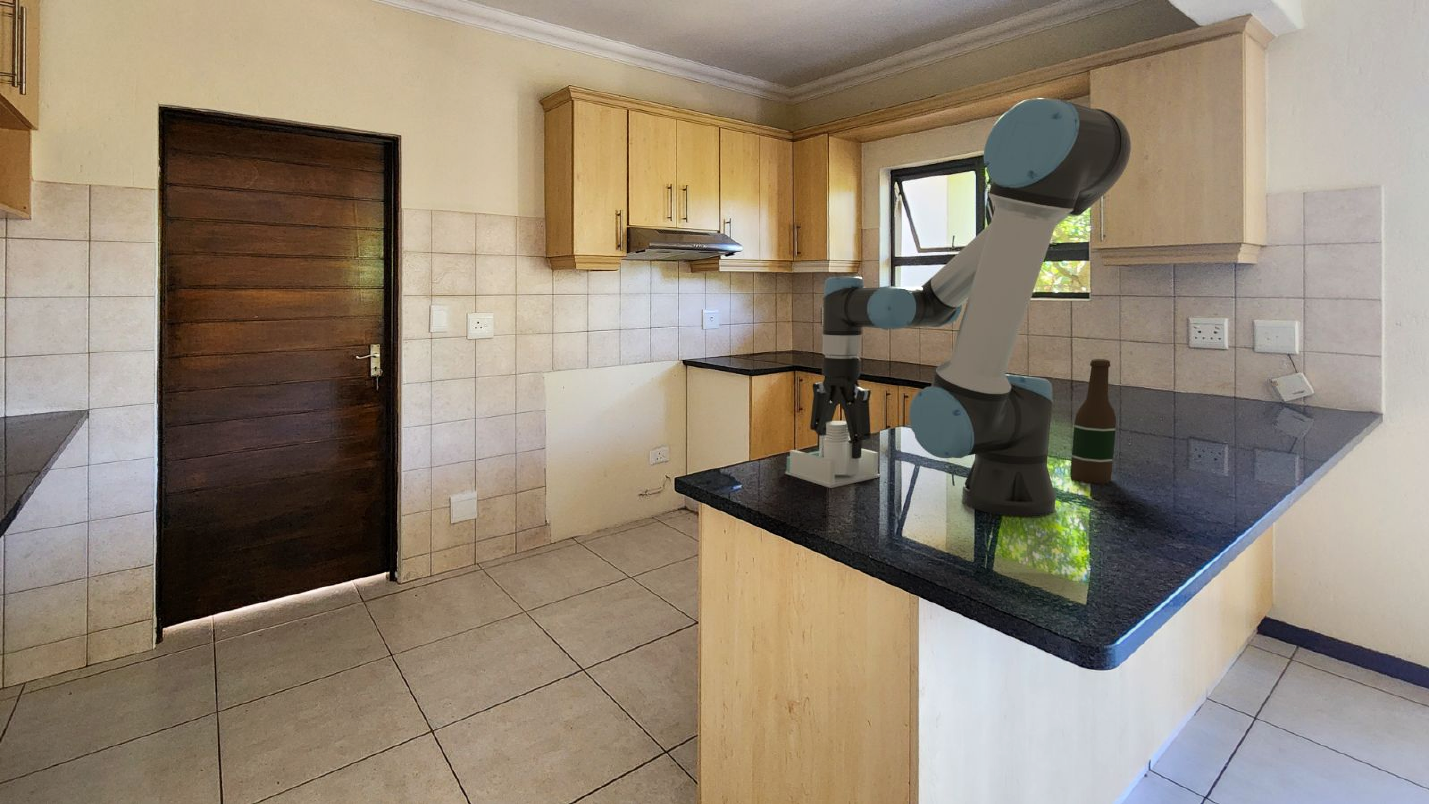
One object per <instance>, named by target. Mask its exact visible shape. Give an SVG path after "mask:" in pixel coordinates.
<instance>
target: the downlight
mask: <svg viewBox="0 0 1429 804" xmlns="http://www.w3.org/2000/svg"><path fill="white" fill-rule="evenodd" d="M826 436H827V437H826V438H825V439H823V445H822V447H823V449H824V458H826V459H830V460H834V461H835V474H836V475H841V474H846V460H847V442H848V441H849V440H850V436H849V432H848V428H847V423H846V420H832V421H829V422H826ZM821 451H822V448H821ZM821 451H820V454H821ZM819 457H820V455H819Z"/></svg>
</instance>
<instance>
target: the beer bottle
mask: <svg viewBox="0 0 1429 804" xmlns="http://www.w3.org/2000/svg"><path fill="white" fill-rule="evenodd" d="M1089 365H1090V374H1089V379H1088V380H1089V382H1088V386H1087V387H1088V388H1087V393H1086V397H1085V399H1084V401H1083V402H1081V404H1080V405H1079V407H1078V409H1077V411H1076V414H1075V417H1074V418H1075V419H1074V425H1073V433H1072V434H1073V436H1072V446H1071V458H1070V459H1071V460H1070V476H1069V477H1070V479H1071V480H1074V481H1077V482H1080V483H1083V484H1084V483H1085V484H1096V485H1103V484H1110V482H1111V479H1112V473H1113V464H1114V463H1113V462H1114V452H1115V440H1116V430H1117V429H1116V428H1117V417H1116V413H1115V409H1114V408H1113V406H1112V404H1111V402H1110V401H1109V399H1110V398H1109V368H1110V367H1111V362H1110V360H1109V359H1104V358H1103V359H1101V358H1093V359H1091V361H1090V363H1089Z"/></svg>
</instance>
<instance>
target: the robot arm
mask: <svg viewBox="0 0 1429 804" xmlns="http://www.w3.org/2000/svg"><path fill="white" fill-rule="evenodd" d="M1131 147H1132V144H1131V137H1130V133H1129V131H1128V129H1127V127H1126V125H1125V124H1124V122H1123V121H1122V120H1121V119H1120V118H1119V117H1117V115H1115V114H1113V113H1111V112H1109V111H1107V110H1104V109H1098V108H1092V107H1089V106H1085V105H1081V104H1078V103H1074V102H1071V101H1066V100H1063V99H1058V98H1043V97H1034V98H1030V99H1029V98H1028V99H1026V100H1022V101H1021V102H1018V103H1017V104H1015V105H1013V107H1011V108H1010V109H1009V110H1007V111H1006V112H1004V113H1003V114H1001V116H1000V117H999V119H998V120H997V121H996V122H995V124H994V125H993V127H992V128H991V130H990V132H989V134H988V136H987V139H986V140H985V144H984V149H983V164H984V165H985V166H986V169H985V171H986V173H987V176H989V178H990V179H991V180H992V181H991V184H990V186H989V190H988V194H987V196H988V197H989V198H990V200H991V202H992V204H993V206H994V212H993V215H992V218H991V221H990V223H989V224H988V225H987V226H986V227H985V228H983V230H982V231H981V232H980V233H978V234H977V235H976V236H975V237H974V238H973V239H972V240H970V242H969V243H968V244H967V245H966V246H964V247H963V248H962V249H961V250H960V251H958V252H957V253H956V254H955V256H954V257H952V258H951V259H950V260H949V261H948V262H947V263H946V264H945V265H943V267H941V269H939V270H938V271H937V272H936V273H935V274H934V275H933V276H932V277H930V279H928V280H927V281H926V282H925V283H924V284H922V285H921V286H897V285H895V286H892V285H891V286H889V285H887V286H886V285H885V286H870V287H869V286H868V287H867V286H864V279H863V277H861V276H830V277H828V278H826V280H825V281H824V290H823V297H822V301H823V309H822V312H823V313H822V315H823V316H822V318H823V319H822V323H823V324H822V325H823V326H822V347H821V348H822V352H821V353H822V355H824V357H822V361H821V374H822V376H824V379H823V382H821V381H820V382H813V383H812V392H813V395H812V397H813V398H812V405H811V414H810V415H811V416H810V424H809V429H810V430H811V431H814V432H815V433H816V434H817V445H816V446H817V447H816V448H817V450H818V451H819V455H820V457H823V458H824V449H823V447H822V445H823V439H825V438H826V437H827V436H826V422H829V421H834V416H835V413H836V409H837V406H838V405H840V408H841V410H843V414H844V418H845V421H846V423H847V428H848V432H849V437H850V440H849V441H848V442H847V460H846V475H853V474H857V473H858V471H859V458H861V449H863V448H862V444H863V442H864V441H867V440H871V437H872V436H871V435H872V434H871V417H870V399H871V394H872V392H871V389H869V388H866V389H865V388H862V387H860V384H859V382H858V381H859V377H860V376H861V369H862V368H861V367H862V365H861V364H862V363H861V362H862V359H861V358H860V357H859V355H861V354H862V334H863V328H870V329H871V328H872V329H882V330H885V331H888V330H900V329H901V330H902V329H904V328H920V327H921V328H925V327H929V328H930V327H931V328H940V327H942V326H949V325H951V324H953V323H954V322H955V321H957V320H958V319H959V316H960V315H961V314H960V313H962V309H963V304H965V302H966V304H965V308H964V310H963V315H962V317H961V321H960V325H959V328H958V331H957V334H956V338H955V340H954V344H953V348H952V351H951V354H950V357H949V359H948V360H947V361H945V362H943V363H941V364H939V365H937V366H936V370H935V374H934V375H933V380H932V382H931V386H925V387H924V388H923V389H921V390H920V391H918V392H917V393H916V394H915V395H914V396H913V398H912V400H911V403H910V406H909V411H908V412H909V414H908V417H909V424H910V429H911V431H912V432H913V434H914V438H915V440H916V442H917V443H918V444H919V446H920V447H922V449H923V450H924V451H926V452H927V453H928V454H930V455H931V456H934V457H936V458H941V459H962V458H964V457H968V456H973V455H974V456H975V457H974V460H973V463H972V465H971V467H970V470H969V472H968V475H967V476H966V479H965V481H964V484H963V485H962V486H963V487H962V492H961V493H962V494H961V501H962V502H963V504H964V505H966V506H968V507H969V508H972V509H974V510H978V511H979V512H980V511H981V512H984V513H989V514H993V515H999V516H1006V517H1015V518H1016V517H1017V518H1036V517H1043V516H1047V515H1050V514H1052V513H1054V512H1055V510H1056V493H1055V490H1054V486H1053V483H1052V479H1051V475H1050V472H1049V468H1048V456H1049V455H1048V453H1049V445H1050V444H1049V443H1050V430H1051V417H1052V410H1053V409H1052V407H1053V405H1054V400H1053V385H1052V383H1051V382H1050V381H1049V380H1048V379H1047V378H1041V377H1034V376H1033V377H1032V376H1026V375H1025V376H1023V375H1016V374H1009V373H1006V372H1007V369H1008V368H1009V365H1010V364H1009V363H1010V362H1011V357H1012V355H1013V352H1014V349H1015V346H1016V343H1017V341H1018V337H1019V334H1020V331H1021V328H1022V326H1023V322H1024V320H1025V318H1026V313H1027V312H1028V308H1029V306H1030V301H1031V299H1032V296H1033V294H1034V290H1035V287H1036V285H1037V283H1038V282H1037V281H1038V278H1039V275H1040V273H1041V270H1042V267H1043V264H1044V260H1045V258H1046V255H1047V252H1048V249H1049V246H1050V243H1051V240H1052V237H1053V234H1054V231H1055V229H1056V227H1057V226H1058V225H1060V224H1061V223H1062V222H1063V221H1064V220H1065V219H1067V218H1068V217H1079V216H1080V215H1082V214H1083V213H1084V212H1086V211H1087V210H1088V209H1089V208H1091V207H1092V206H1094V204H1095V203H1096V202H1098V201H1099V200H1100V199H1101V198H1102V197H1104V196H1105V195H1106V194H1107V193H1108V192H1109V191H1110V190H1111V189H1112V188H1113V187H1114V186H1115V184H1116V183H1117V182H1118V181H1119V180H1120V178H1121V176H1122V175H1123V173H1124V172H1125V169H1126V167H1127V165H1128V163H1129V160H1130V156H1131V149H1132V148H1131ZM821 448H822V451H821ZM820 451H821V454H820Z"/></svg>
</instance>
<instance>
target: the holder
mask: <svg viewBox="0 0 1429 804" xmlns="http://www.w3.org/2000/svg"><path fill="white" fill-rule="evenodd" d="M878 471H879V451H878V452H877V451H874V450H871V449H865V448H862V449H861V458H859V471H858V473H857V474H853V475H846V474H841V475H836V474H835V461H834V460H830V459H826V458H823V457H819V450H817V451H812V452H804V451H801V450H796V449H792V450H791V449H790V450H789V456H786V470H785V472H784V473H785V475H789V476H791V477H794V478H799V479H801V480H805V481H808V482H810V483H814V484H817V485H821V486H823V487H826V488H829V489H832V488H837V487H842V486H846V485H850V484H854V483H859V482H860V483H861V482H863V481H868V480H872V479H876V478H880V477H881V474H879V473H878Z"/></svg>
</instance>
